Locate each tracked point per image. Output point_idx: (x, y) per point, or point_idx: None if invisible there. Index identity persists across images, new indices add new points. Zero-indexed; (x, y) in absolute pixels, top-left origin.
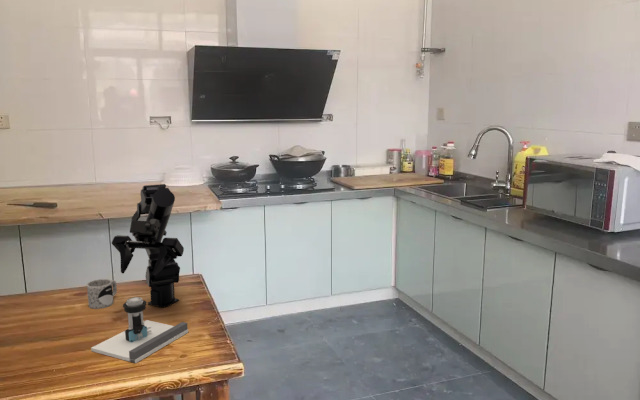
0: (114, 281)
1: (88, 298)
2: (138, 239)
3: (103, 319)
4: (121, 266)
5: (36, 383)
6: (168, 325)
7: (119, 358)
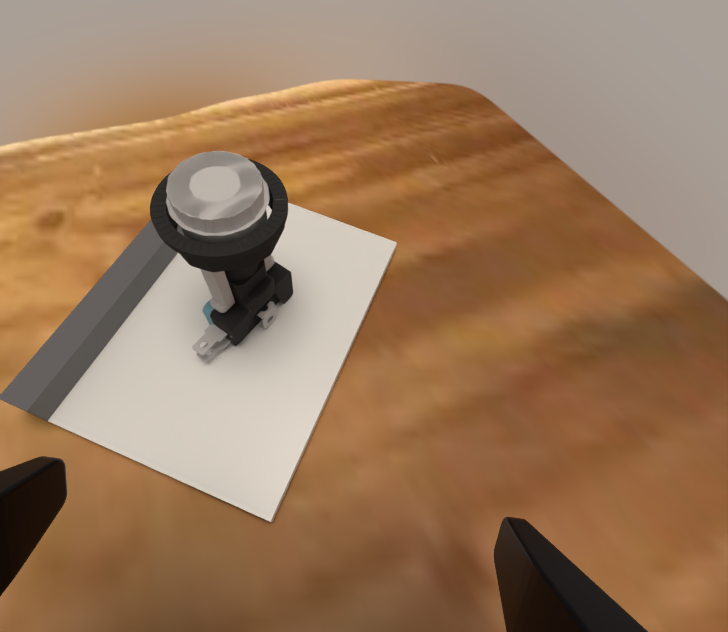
0: None
1: None
2: None
3: None
4: (562, 564)
5: (436, 113)
6: (128, 449)
7: None
